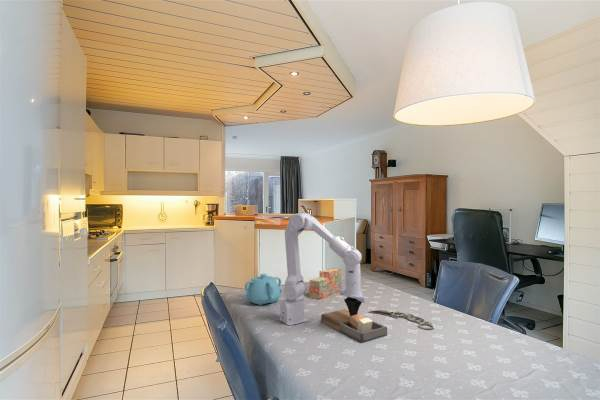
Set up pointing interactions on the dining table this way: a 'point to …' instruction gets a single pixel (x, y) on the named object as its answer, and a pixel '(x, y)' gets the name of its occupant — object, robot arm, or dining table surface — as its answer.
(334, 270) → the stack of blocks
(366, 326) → the cream tile
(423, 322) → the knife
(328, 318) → the wooden square board
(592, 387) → the dining table surface
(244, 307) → the dining table surface
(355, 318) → the salmon cube
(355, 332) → the gray box
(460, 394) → the dining table surface
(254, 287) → the decorative pot
